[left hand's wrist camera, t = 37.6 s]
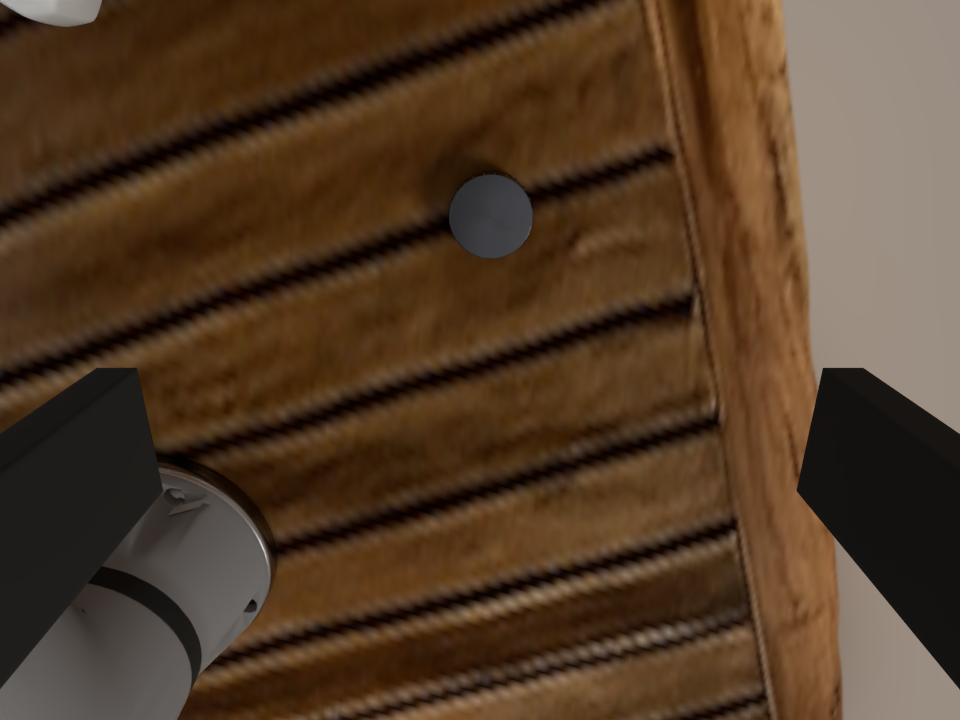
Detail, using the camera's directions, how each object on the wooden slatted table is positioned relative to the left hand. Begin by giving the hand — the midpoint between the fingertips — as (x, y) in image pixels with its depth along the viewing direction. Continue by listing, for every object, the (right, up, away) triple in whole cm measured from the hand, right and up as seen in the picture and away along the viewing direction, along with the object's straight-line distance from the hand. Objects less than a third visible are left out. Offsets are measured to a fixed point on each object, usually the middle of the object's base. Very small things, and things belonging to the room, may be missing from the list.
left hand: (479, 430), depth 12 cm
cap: (+1, +9, +22) cm, 24 cm away
